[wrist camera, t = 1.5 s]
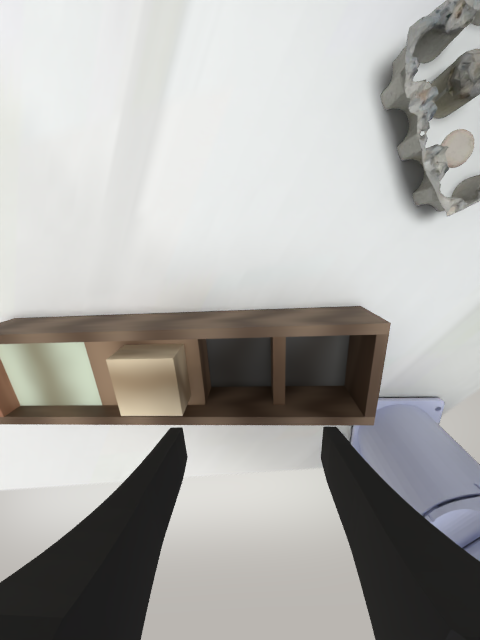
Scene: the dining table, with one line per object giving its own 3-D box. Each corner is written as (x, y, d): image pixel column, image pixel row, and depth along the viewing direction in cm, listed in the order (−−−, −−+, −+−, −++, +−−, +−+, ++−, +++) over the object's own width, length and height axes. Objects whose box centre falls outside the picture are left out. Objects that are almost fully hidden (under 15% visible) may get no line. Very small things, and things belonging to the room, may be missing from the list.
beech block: (191, 395, 20) (182, 415, 17) (136, 395, 20) (121, 415, 18) (183, 343, 18) (173, 358, 16) (124, 345, 19) (105, 359, 16)
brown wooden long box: (360, 306, 19) (390, 323, 15) (350, 390, 22) (374, 425, 18) (14, 318, 22) (-44, 335, 18) (43, 393, 25) (-1, 424, 20)
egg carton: (515, 176, 16) (598, 154, 12) (407, 227, 18) (451, 222, 14) (493, -7, 13) (591, -110, 10) (367, 71, 15) (407, 10, 11)
